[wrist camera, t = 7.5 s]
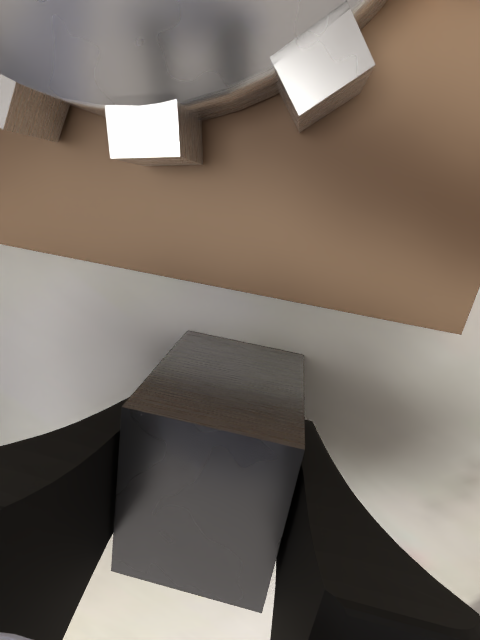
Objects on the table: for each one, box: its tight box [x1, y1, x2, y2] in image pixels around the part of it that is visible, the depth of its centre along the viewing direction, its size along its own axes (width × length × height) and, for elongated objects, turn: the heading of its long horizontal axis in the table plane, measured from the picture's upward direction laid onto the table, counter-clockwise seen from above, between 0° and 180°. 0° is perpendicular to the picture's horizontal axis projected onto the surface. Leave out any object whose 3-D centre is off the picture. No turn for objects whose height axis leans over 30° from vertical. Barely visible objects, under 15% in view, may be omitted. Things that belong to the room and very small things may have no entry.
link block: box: [111, 331, 305, 613], centre depth 11 cm, size 5×4×5 cm
